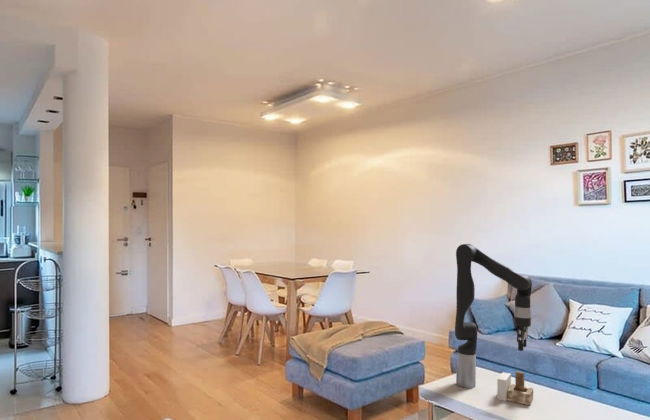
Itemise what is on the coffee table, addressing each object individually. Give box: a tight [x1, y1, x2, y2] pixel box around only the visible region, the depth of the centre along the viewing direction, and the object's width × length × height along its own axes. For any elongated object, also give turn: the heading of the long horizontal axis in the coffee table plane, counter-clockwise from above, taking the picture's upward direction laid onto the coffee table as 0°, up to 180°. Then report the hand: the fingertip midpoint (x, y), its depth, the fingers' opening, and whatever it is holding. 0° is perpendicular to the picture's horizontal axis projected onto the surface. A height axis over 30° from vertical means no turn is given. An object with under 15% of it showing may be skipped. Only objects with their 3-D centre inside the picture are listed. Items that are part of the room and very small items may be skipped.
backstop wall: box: [496, 372, 512, 402], centre depth 223 cm, size 4×12×10 cm, turn 147°
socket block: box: [507, 383, 534, 406], centre depth 218 cm, size 10×10×5 cm
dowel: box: [514, 370, 525, 392], centre depth 219 cm, size 4×4×12 cm
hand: (522, 348), depth 221 cm, fingers open, 8 cm apart
